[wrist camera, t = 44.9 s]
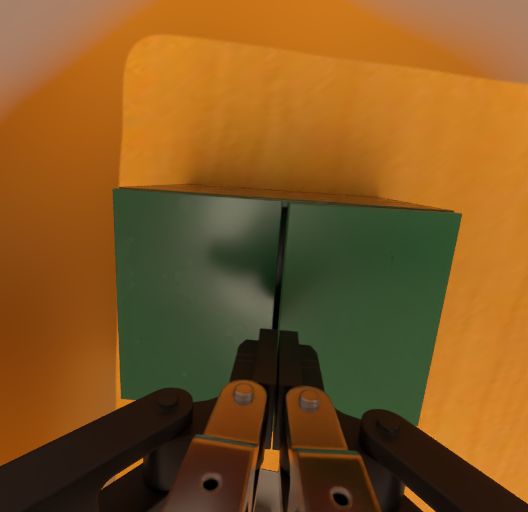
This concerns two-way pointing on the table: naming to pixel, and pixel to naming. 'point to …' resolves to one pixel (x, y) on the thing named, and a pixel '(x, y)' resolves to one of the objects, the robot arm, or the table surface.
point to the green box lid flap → (368, 299)
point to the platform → (268, 492)
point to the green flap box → (201, 278)
